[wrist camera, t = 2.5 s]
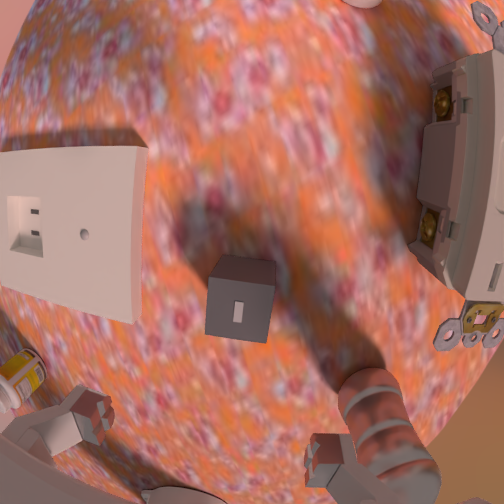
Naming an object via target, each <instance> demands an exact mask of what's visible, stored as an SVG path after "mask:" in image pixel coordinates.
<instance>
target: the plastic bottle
mask: <svg viewBox="0 0 504 504" xmlns="http://www.w3.org/2000/svg"><path fill="white" fill-rule="evenodd" d="M338 409H339V411H340V413H341V416H342V418H343V420H344V422H345V423H346V425H347V426H348V429H349V432H350V434H351V436H352V440H353V442H354V445H355V450H356V454H357V462H358V464H362V465H363V466H364V467H366V468H367V469H368V470H369V471H370V472H371V473H372V474H373V475H375V476H376V477H377V478H378V479H379V480H380V481H382V482H383V483H384V484H385V485H386V486H387V487H389V488H390V489H391V490H392V491H393V492H394V493H396V494H397V495H398V499H399V503H400V504H434V503H435V501H436V499H437V496H438V494H439V490H440V487H441V471H440V469H439V467H438V465H437V464H436V462H435V461H434V459H433V458H432V457H431V455H430V454H429V452H428V451H427V450H426V448H425V447H424V445H423V444H422V443H421V441H420V439H419V437H418V435H417V433H416V432H415V430H414V428H413V426H412V424H411V423H410V420H409V417H408V414H407V411H406V409H405V406H404V403H403V398H402V393H401V389H400V386H399V383H398V381H397V380H396V379H395V378H394V376H393V375H392V374H391V373H390V372H388V371H387V370H384V369H380V368H366V369H362V370H360V371H357V372H356V373H354V374H352V375H351V376H350V377H349V378H348V379H347V380H346V381H345V382H344V384H343V385H342V386H341V388H340V390H339V393H338Z"/></svg>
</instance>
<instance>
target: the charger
mask: <svg viewBox="0 0 504 504" xmlns="http://www.w3.org/2000/svg"><path fill="white" fill-rule="evenodd" d="M275 287H276V262H275V261H267V260H260V259H252V258H245V257H238V256H230V255H222V257H221V258H220V260H219V261H218V263H217V265H216V266H215V268H214V269H213V271H212V272H211V274H210V276H209V280H208V293H207V307H206V323H205V334H206V335H212V336H218V337H224V338H231V339H237V340H244V341H251V342H259V343H266V342H267V336H268V330H269V324H270V318H271V312H272V306H273V300H274V293H275Z"/></svg>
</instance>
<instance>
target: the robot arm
mask: <svg viewBox="0 0 504 504" xmlns="http://www.w3.org/2000/svg"><path fill="white" fill-rule="evenodd" d="M111 403H112V400H111V397H110V396H108V395H106V394H103V393H101V392H98V391H95V390H93V389H90V388H88V387H85V386H83V385H80V384H79V385H77V386H76V387H75V388H74V389H73V390H72V391H71V392H70V394H69V395H68V396H67V397H66V398H65V400H64V401H63V402H62V403H61V404H60V406H58V405H54V406H51V407H48V408H45V409H42V410H39V411H36V412H33V413H29V414H26V415H23V416H20V417H16V418H15V419H14V420H13V421H12V422H11V423H10V424H9V425H8V426H7V428H6V429H5V430H4V431H3V432H2V433H1V434H0V504H138V503H135V502H132V501H129V500H126V499H123V498H121V497H118V496H115V495H113V494H110V493H108V492H105V491H103V490H100V489H98V488H95V487H93V486H91V485H89V484H86V483H84V482H82V481H80V480H78V479H76V478H74V477H72V476H69V475H67V474H66V473H64V472H62V471H60V470H58V469H57V468H58V467H57V464H56V463H55V461H54V459H53V458H52V456H54V455H56V454H58V453H60V452H62V451H64V450H66V449H68V448H70V447H72V446H73V445H75V444H77V443H79V442H81V441H83V440H85V441H88V442H90V443H93V444H96V445H98V446H100V445H101V443H102V442H103V440H104V438H105V437H106V434H105V431H106V430H108V429H110V428H111V426H112V425H113V422H114V418H115V413H114V409H113V408H112V407H111V406H110V404H111ZM82 439H83V440H82ZM304 466H305V467H306V468H307V471H306V473H305V487H319V488H326V489H327V491H328V492H329V493H330V494H331V496H332V497H333V498H334V499H335V501H336V502H337V503H338V504H400V503H399V499H398V495H397V494H396V493H394V492H393V491H392V490H391V489H390V488H389V487H387V486H386V485H385V484H384V483H383V482H382V481H380V480H379V479H378V478H377V477H376V476H375V475H373V474H372V473H371V472H370V471H369V470H368V469H367V468H366V467H364V466H363V465H362V464H358V462H357V458H356V453H355V449H354V445H353V440H352V436H351V434H330V433H313V434H312V436H311V438H310V444H309V445H307V448H306V450H305V455H304ZM141 496H142V497H143V499H144V500H145V501H146V504H226V503H225V502H223V501H222V500H220V499H218V498H216V497H213V496H211V495H208V494H205V493H202V492H199V491H195V490H191V489H186V488H179V487H160V488H157V489H155V490H142V493H141ZM457 504H492V503H490V502H488V501H486V500H484V499H481V498H477V497H476V498H471V499H468V500H466V501H463V502H461V503H457Z"/></svg>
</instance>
